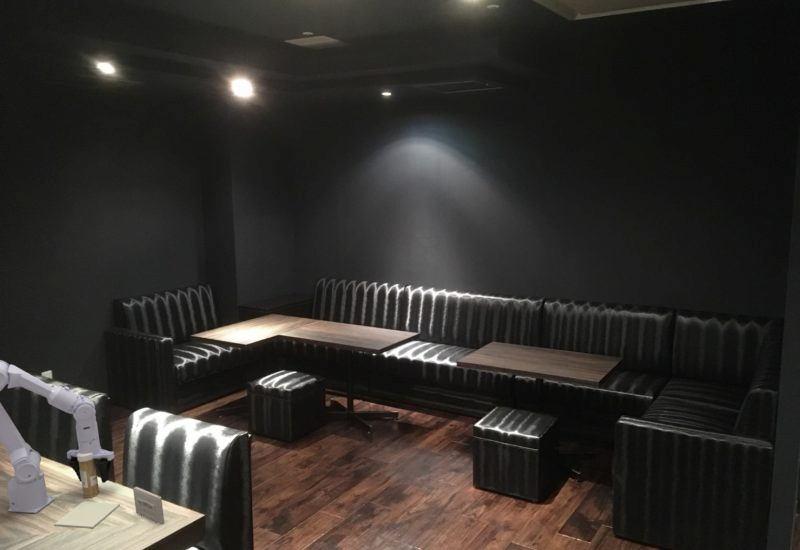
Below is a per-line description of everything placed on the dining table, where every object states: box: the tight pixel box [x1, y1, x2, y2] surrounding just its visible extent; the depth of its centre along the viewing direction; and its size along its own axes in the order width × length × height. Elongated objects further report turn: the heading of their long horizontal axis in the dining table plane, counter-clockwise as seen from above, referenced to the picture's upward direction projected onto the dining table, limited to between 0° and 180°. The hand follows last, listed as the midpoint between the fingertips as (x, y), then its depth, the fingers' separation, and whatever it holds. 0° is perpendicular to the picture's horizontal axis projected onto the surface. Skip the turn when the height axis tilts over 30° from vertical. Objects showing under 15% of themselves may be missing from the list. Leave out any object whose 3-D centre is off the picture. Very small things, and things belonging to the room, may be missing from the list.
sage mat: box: [54, 501, 121, 530], centre depth 185 cm, size 12×12×1 cm
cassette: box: [132, 486, 165, 525], centre depth 181 cm, size 12×2×8 cm, turn 55°
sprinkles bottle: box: [77, 453, 100, 499], centre depth 196 cm, size 5×5×14 cm
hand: (94, 480), depth 198 cm, fingers open, 7 cm apart
